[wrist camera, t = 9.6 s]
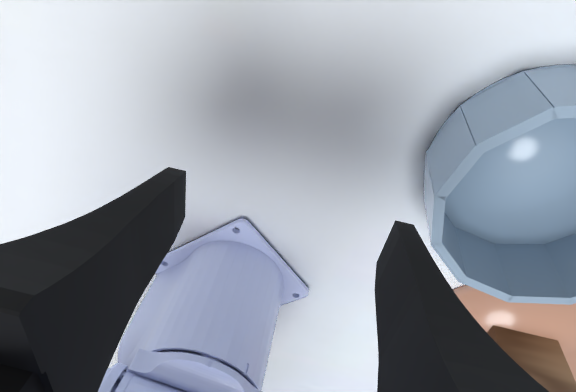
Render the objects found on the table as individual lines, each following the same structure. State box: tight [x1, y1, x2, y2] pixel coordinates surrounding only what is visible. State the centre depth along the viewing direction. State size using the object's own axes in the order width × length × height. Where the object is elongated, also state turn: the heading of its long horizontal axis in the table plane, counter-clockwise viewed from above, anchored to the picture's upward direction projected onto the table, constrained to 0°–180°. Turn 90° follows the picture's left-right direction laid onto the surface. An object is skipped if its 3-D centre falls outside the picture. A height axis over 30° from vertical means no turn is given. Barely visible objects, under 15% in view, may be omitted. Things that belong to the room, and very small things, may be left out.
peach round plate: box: [453, 285, 576, 382], centre depth 30 cm, size 14×14×1 cm
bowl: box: [424, 64, 576, 305], centre depth 20 cm, size 11×11×4 cm
